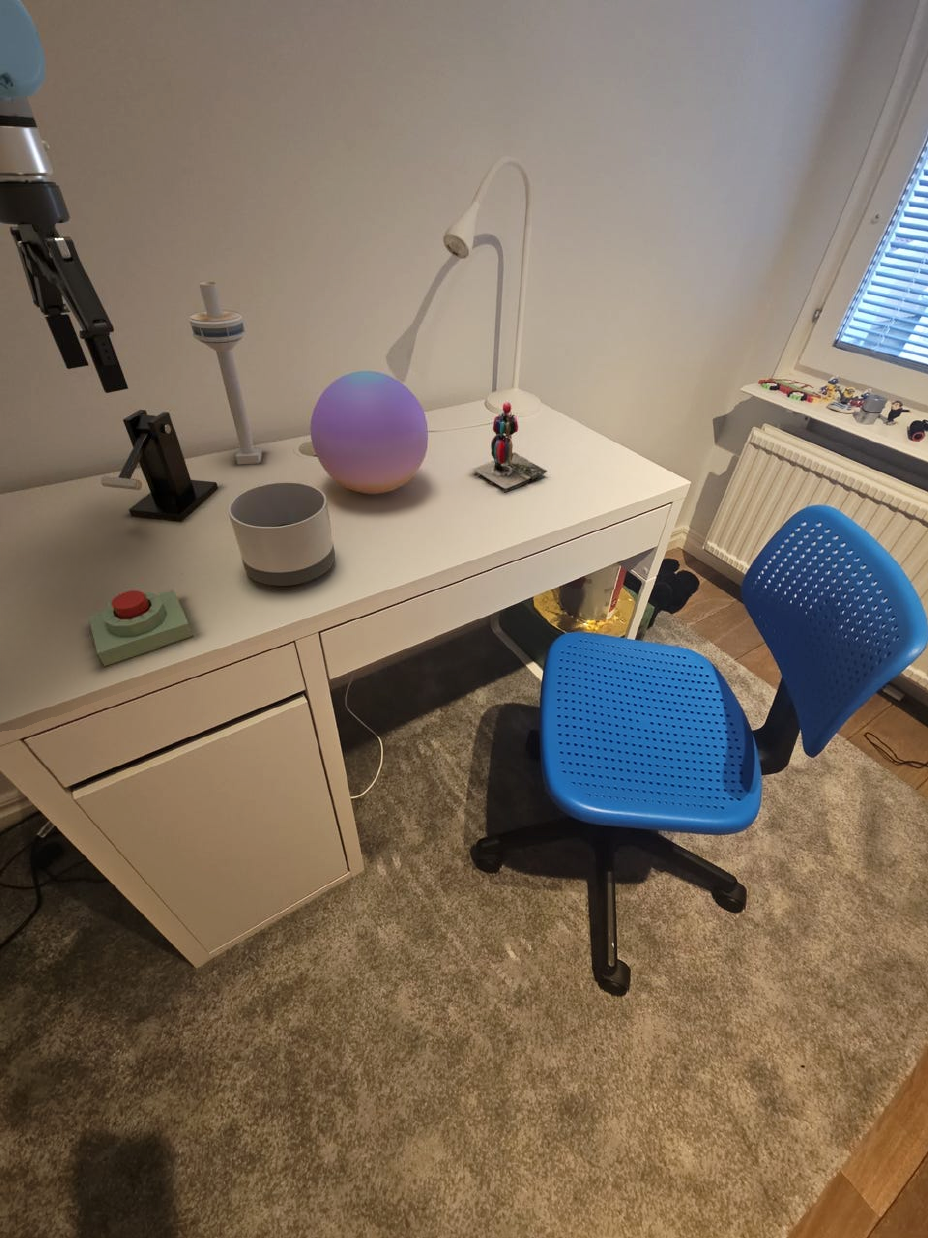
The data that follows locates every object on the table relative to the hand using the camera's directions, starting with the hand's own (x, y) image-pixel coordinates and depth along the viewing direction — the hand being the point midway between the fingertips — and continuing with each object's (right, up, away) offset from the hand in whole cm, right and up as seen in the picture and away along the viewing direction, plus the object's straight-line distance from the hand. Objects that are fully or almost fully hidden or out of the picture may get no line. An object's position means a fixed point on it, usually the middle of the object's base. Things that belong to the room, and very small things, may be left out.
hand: (96, 378), depth 74 cm
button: (+10, -32, -8) cm, 35 cm away
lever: (0, -8, +10) cm, 13 cm away
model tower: (+8, -2, +33) cm, 34 cm away
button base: (+10, -35, -6) cm, 37 cm away
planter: (+25, -26, +6) cm, 36 cm away
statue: (+60, -5, +31) cm, 67 cm away
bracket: (+1, -13, +19) cm, 23 cm away
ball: (+34, -9, +25) cm, 44 cm away
